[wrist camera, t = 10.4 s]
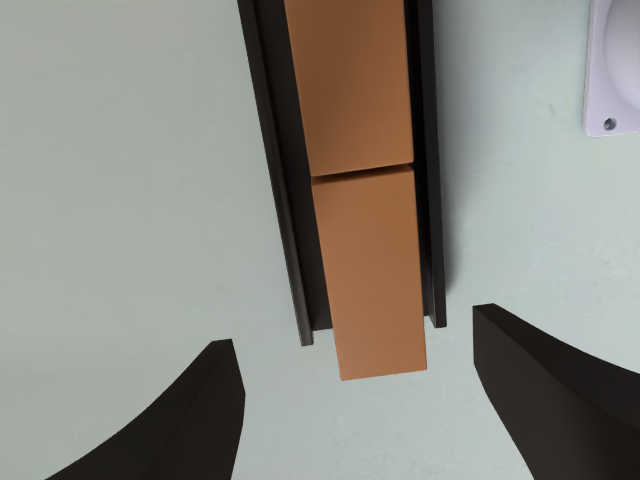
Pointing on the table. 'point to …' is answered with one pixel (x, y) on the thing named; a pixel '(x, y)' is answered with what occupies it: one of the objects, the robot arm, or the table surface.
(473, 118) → the table surface
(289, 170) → the rail
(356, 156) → the brown wooden block
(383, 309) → the orange rectangular block
